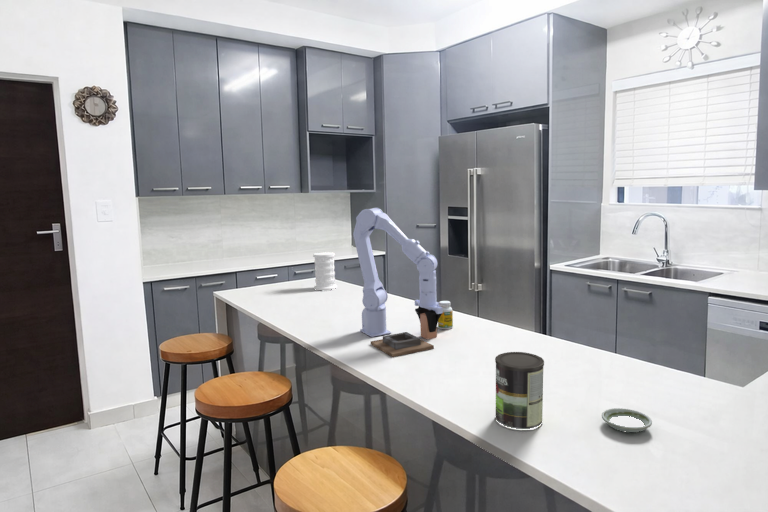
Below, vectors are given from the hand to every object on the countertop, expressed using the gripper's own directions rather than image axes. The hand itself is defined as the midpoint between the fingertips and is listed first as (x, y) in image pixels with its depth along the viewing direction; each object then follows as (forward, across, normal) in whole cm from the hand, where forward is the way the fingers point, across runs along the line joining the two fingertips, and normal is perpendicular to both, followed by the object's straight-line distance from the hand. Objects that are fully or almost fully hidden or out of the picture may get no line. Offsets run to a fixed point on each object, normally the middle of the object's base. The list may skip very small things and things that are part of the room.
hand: (428, 330), depth 177 cm
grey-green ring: (+3, -77, 0) cm, 77 cm away
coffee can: (+3, -63, +17) cm, 65 cm away
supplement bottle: (+3, +6, -11) cm, 13 cm away
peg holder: (+2, -4, +13) cm, 14 cm away
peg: (+2, 0, 0) cm, 2 cm away
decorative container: (+3, +98, -1) cm, 98 cm away
